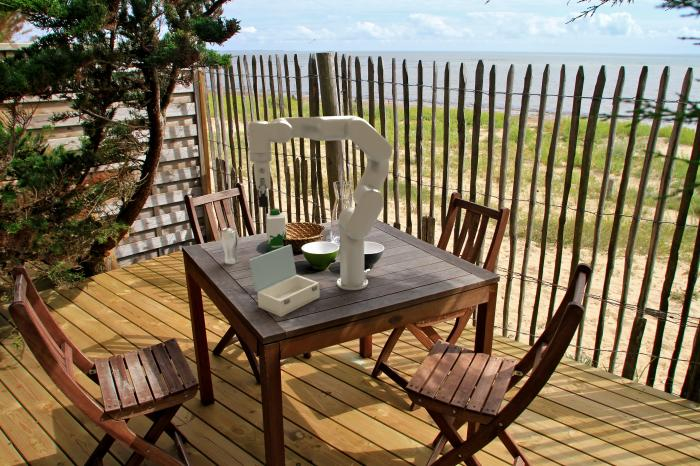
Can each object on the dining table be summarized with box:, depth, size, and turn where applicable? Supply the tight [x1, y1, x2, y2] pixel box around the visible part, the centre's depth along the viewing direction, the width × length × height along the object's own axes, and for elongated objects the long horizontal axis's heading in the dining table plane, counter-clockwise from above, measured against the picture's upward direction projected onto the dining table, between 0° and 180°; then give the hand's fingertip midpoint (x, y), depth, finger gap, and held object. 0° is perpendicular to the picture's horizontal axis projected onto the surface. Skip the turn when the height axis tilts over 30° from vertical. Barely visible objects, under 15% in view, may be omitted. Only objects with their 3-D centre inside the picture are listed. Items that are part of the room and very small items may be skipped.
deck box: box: [256, 274, 321, 317], centre depth 195 cm, size 20×13×6 cm, turn 140°
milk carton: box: [265, 208, 287, 252], centre depth 242 cm, size 9×9×20 cm
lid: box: [248, 244, 297, 292], centre depth 197 cm, size 20×12×1 cm
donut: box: [319, 227, 332, 241], centre depth 249 cm, size 10×4×10 cm, turn 91°
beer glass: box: [220, 227, 239, 265], centre depth 232 cm, size 7×7×15 cm
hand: (263, 203), depth 191 cm, fingers open, 9 cm apart
